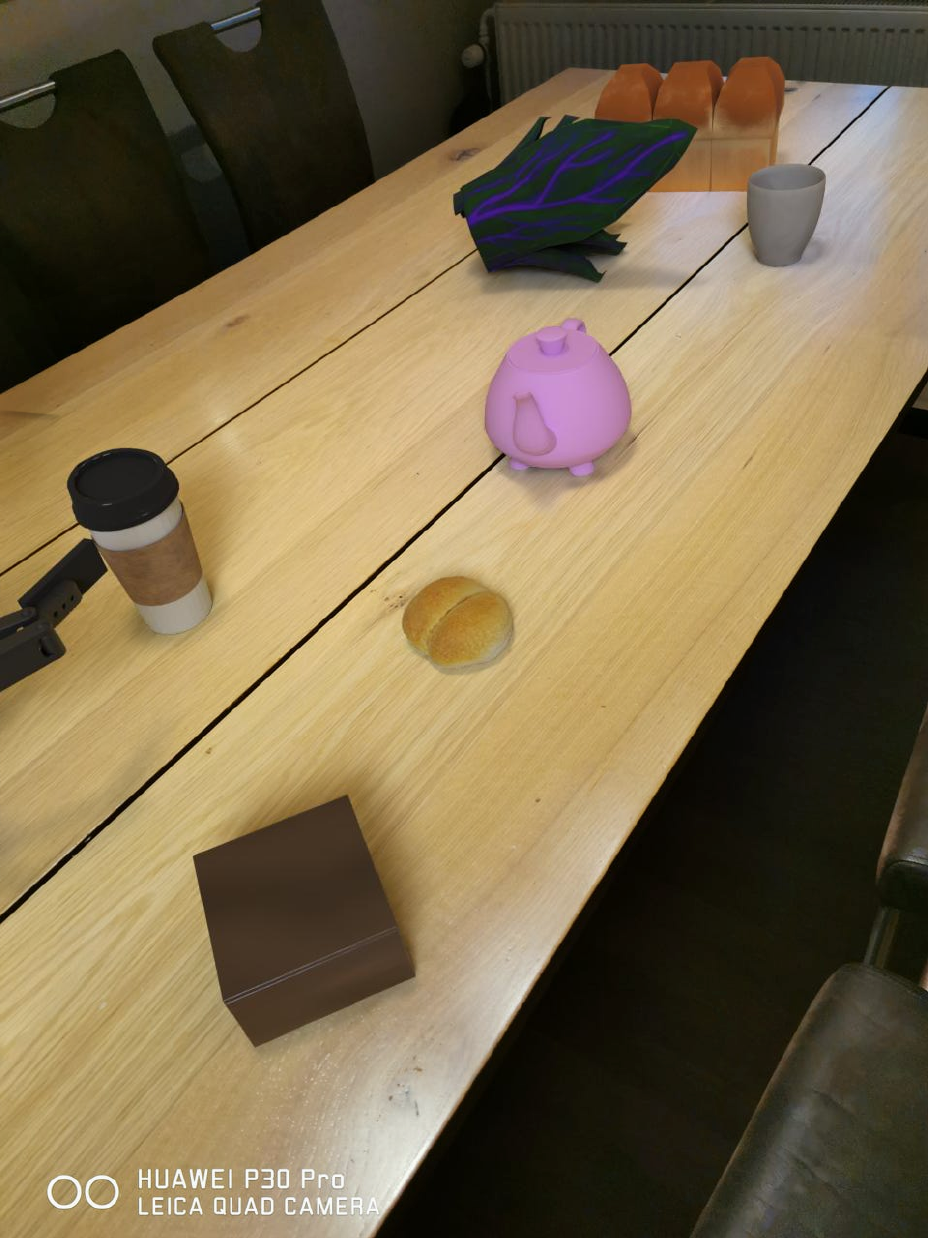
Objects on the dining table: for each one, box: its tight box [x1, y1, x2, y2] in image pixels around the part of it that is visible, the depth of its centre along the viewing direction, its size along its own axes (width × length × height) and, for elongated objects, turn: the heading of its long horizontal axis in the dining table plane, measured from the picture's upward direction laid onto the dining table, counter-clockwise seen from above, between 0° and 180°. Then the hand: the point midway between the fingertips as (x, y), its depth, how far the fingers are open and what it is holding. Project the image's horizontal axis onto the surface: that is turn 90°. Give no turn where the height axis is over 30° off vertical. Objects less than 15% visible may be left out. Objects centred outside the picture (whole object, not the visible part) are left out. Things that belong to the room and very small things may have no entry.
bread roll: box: [401, 575, 514, 670], centre depth 76 cm, size 8×9×4 cm
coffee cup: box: [66, 447, 213, 635], centre depth 79 cm, size 8×8×15 cm
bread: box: [593, 56, 786, 193], centre depth 137 cm, size 25×12×15 cm, turn 71°
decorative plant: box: [452, 114, 698, 283], centre depth 118 cm, size 21×26×30 cm
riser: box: [192, 793, 416, 1048], centre depth 57 cm, size 10×10×6 cm
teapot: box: [483, 317, 633, 477], centre depth 90 cm, size 20×14×12 cm
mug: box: [746, 163, 827, 267], centre depth 117 cm, size 12×9×10 cm
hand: (23, 539), depth 67 cm, fingers open, 13 cm apart
